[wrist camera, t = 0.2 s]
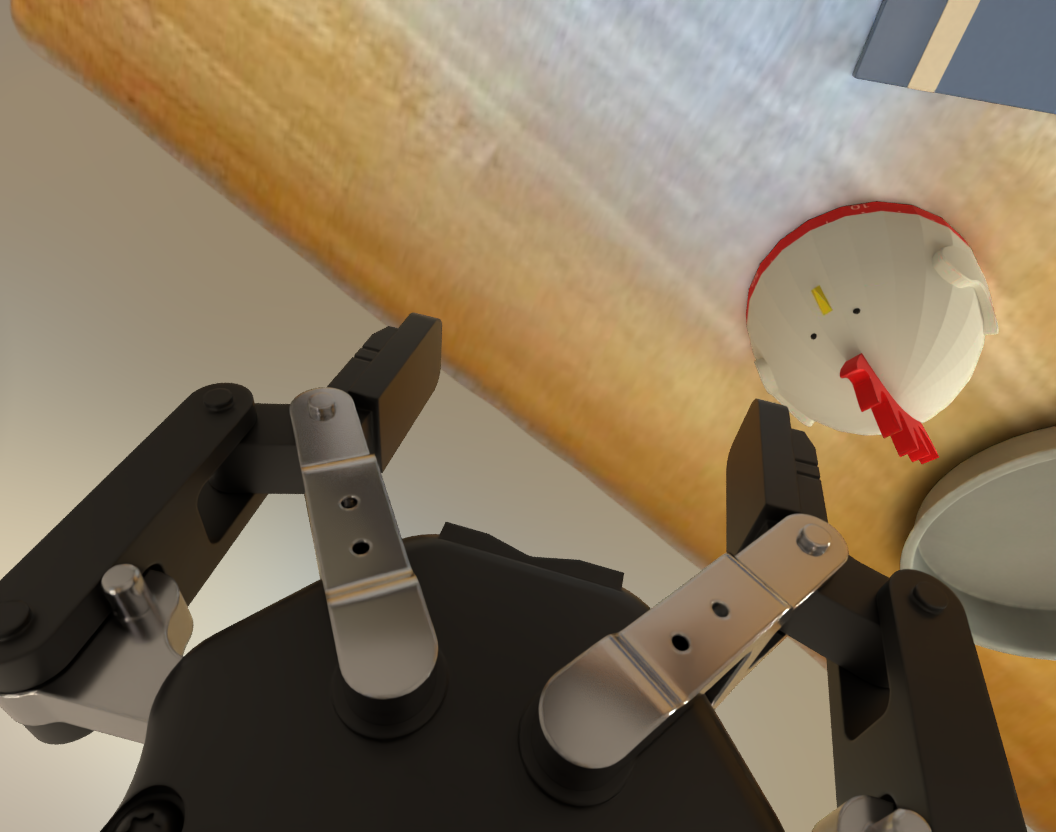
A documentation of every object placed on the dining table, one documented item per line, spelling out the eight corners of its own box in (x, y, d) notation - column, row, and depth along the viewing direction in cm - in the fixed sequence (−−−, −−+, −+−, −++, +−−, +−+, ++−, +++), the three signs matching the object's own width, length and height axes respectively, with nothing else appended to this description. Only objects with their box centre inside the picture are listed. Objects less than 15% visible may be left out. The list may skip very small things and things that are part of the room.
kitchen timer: (902, 153, 35) (983, 258, 24) (1017, 313, 39) (1134, 469, 28) (706, 293, 44) (698, 420, 32) (817, 414, 48) (845, 566, 36)
